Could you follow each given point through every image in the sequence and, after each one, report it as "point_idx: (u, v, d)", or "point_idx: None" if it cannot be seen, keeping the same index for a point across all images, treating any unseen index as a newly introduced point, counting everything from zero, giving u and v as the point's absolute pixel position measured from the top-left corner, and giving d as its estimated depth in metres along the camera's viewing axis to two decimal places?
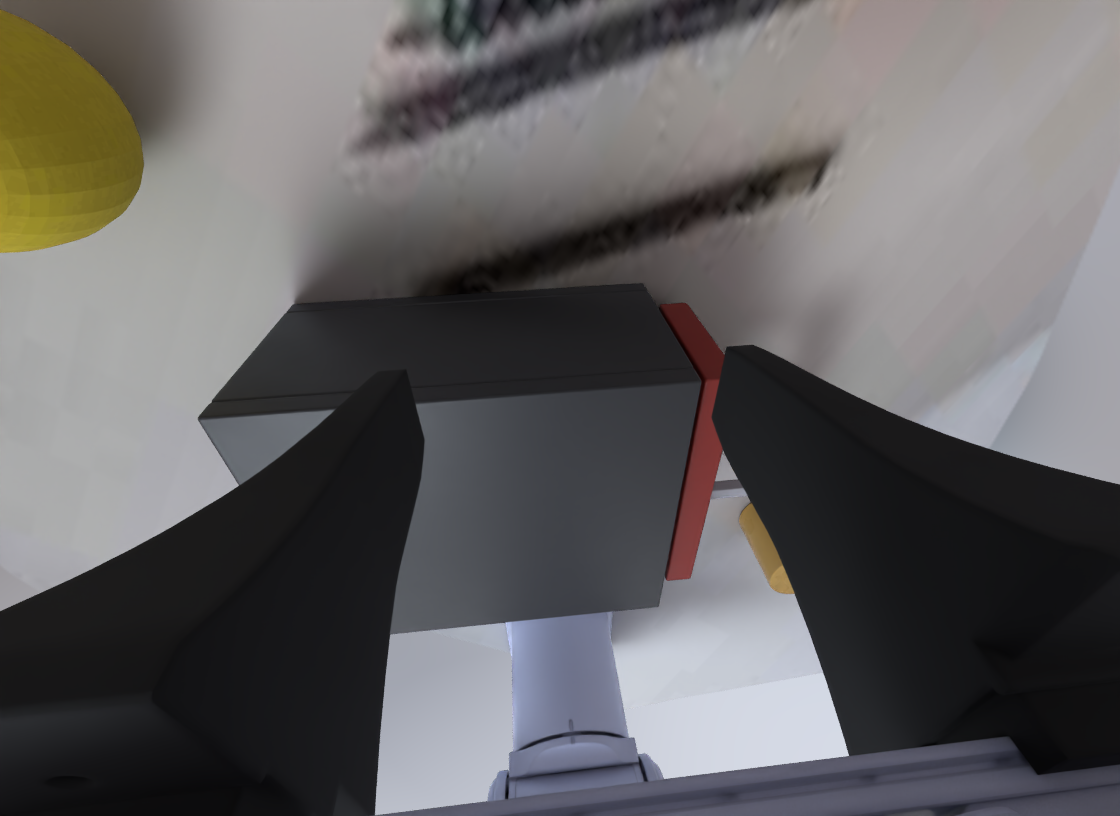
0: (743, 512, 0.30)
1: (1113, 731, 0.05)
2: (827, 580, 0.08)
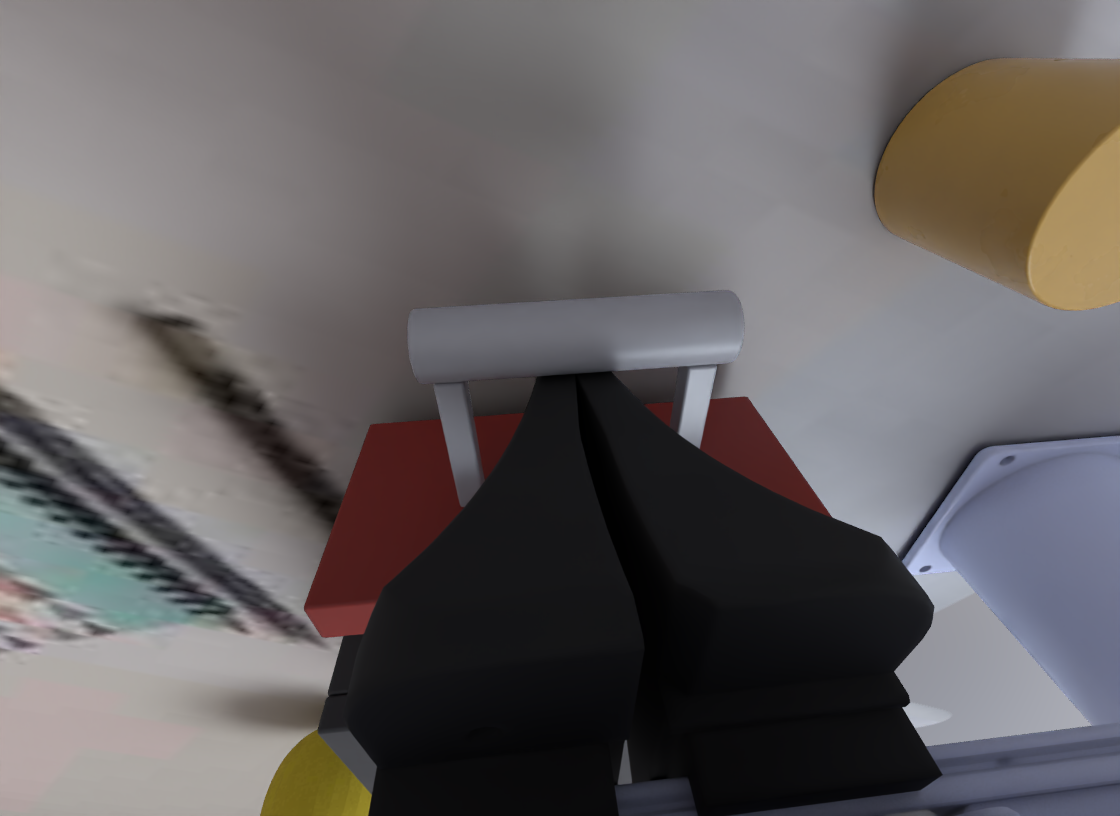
0: (906, 239, 0.13)
1: (769, 774, 0.04)
2: None
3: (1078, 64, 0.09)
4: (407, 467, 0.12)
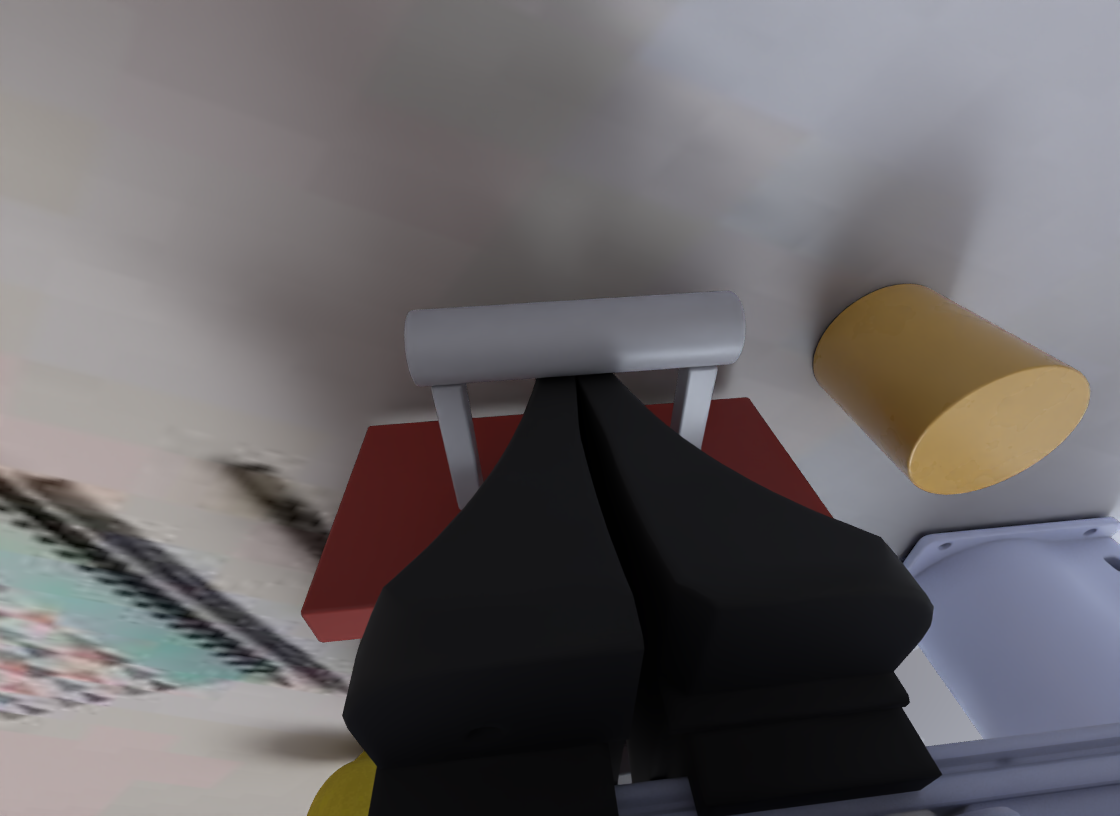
0: None
1: (768, 774, 0.04)
2: None
3: (946, 324, 0.12)
4: (405, 469, 0.12)
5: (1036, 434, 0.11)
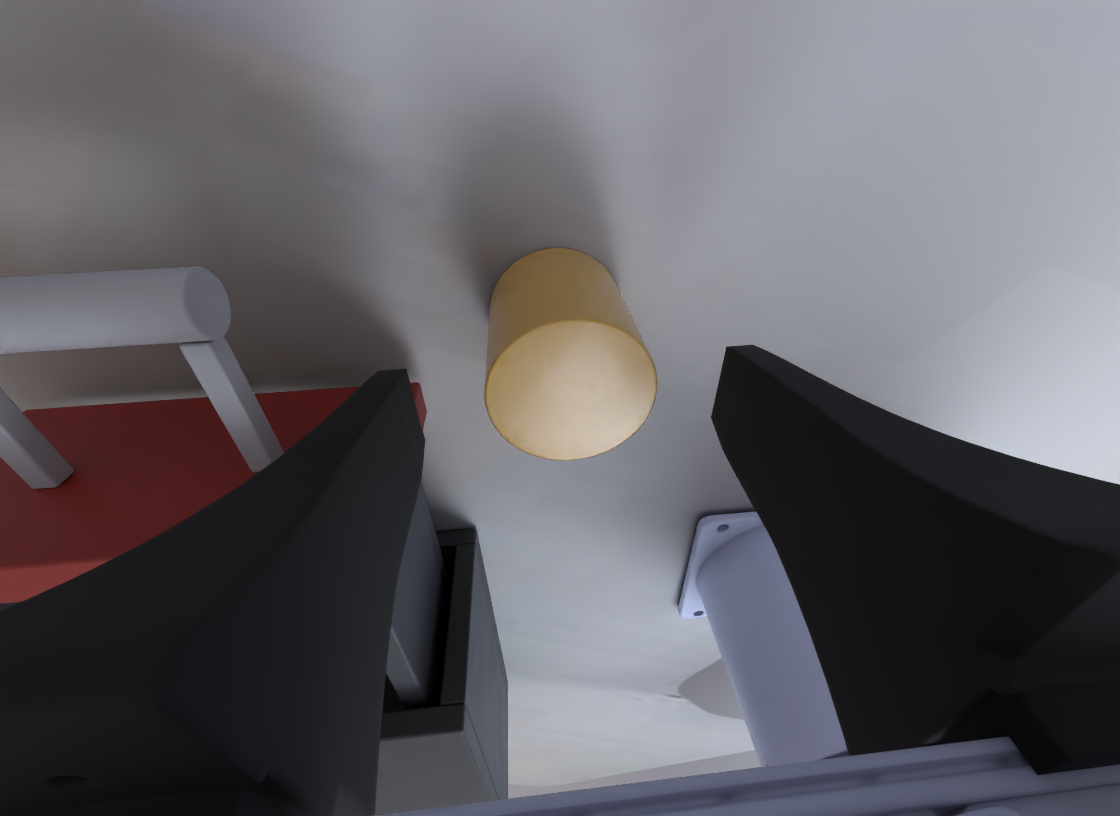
0: None
1: (1113, 730, 0.05)
2: (827, 580, 0.08)
3: (540, 283, 0.11)
4: None
5: (616, 395, 0.11)
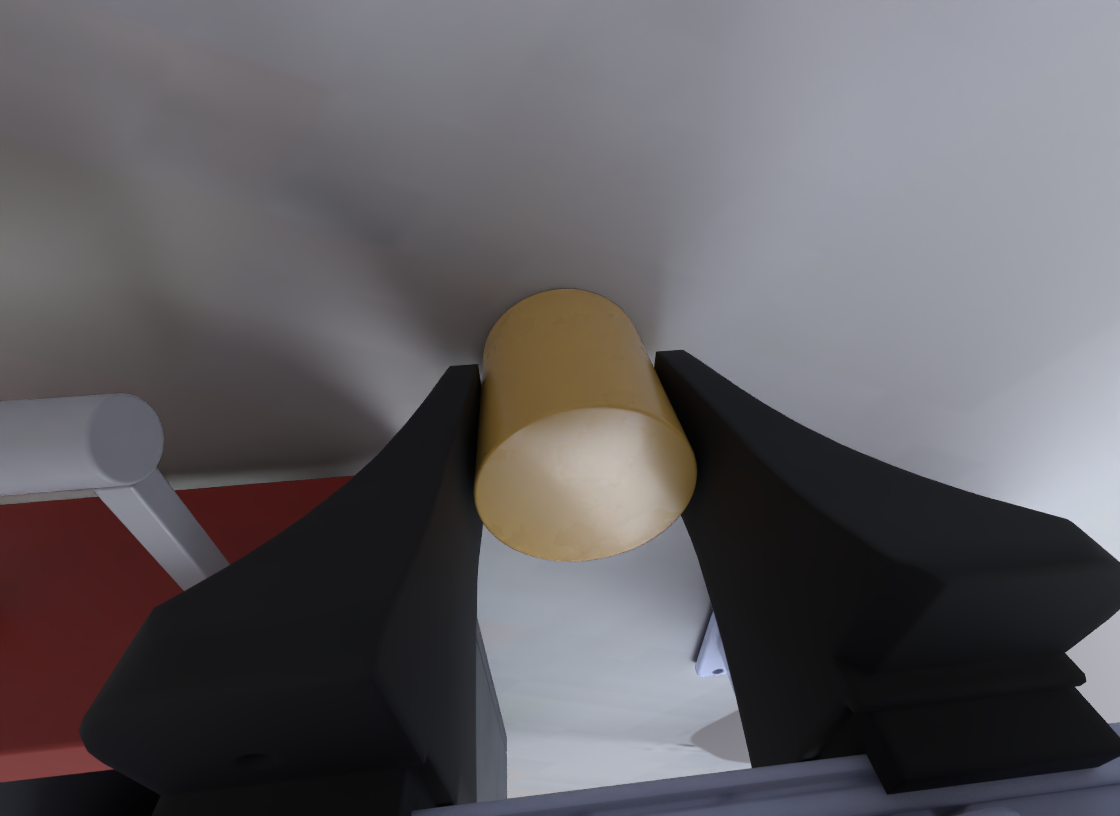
0: None
1: (960, 749, 0.05)
2: (732, 589, 0.08)
3: (545, 342, 0.09)
4: None
5: (644, 490, 0.08)
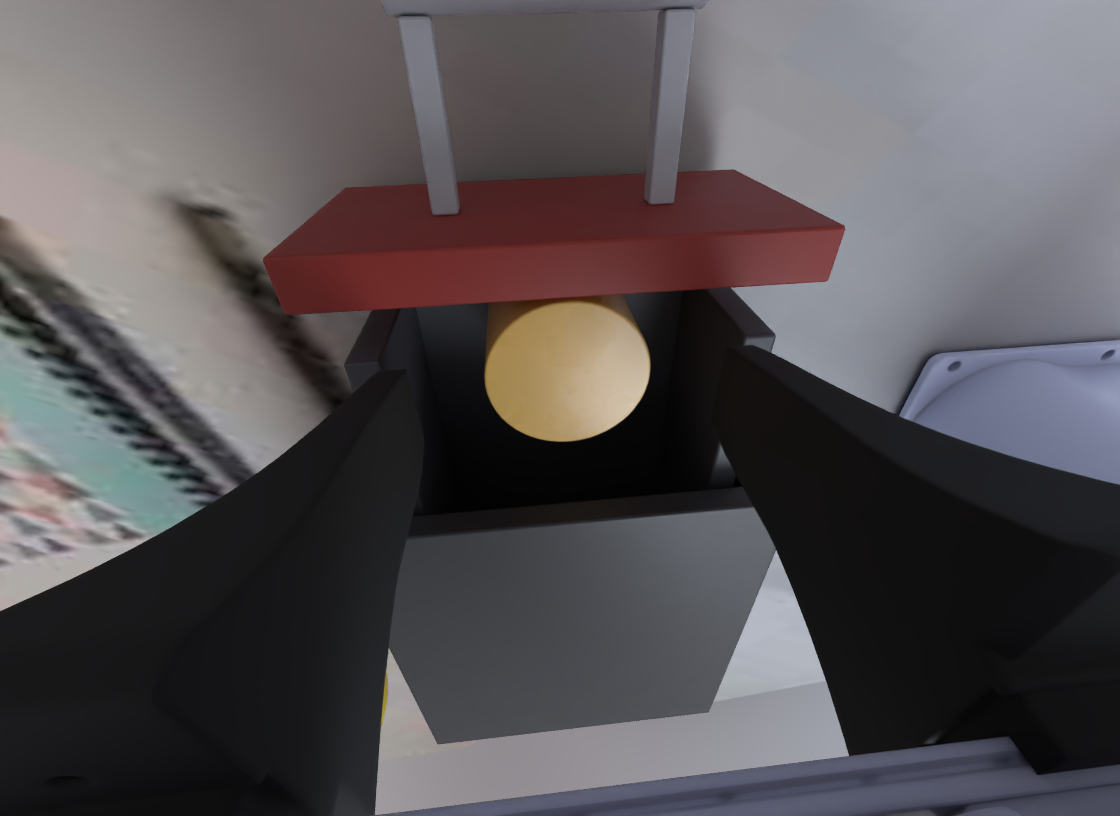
0: None
1: (1113, 731, 0.05)
2: (827, 580, 0.08)
3: None
4: (380, 202, 0.12)
5: (611, 376, 0.11)
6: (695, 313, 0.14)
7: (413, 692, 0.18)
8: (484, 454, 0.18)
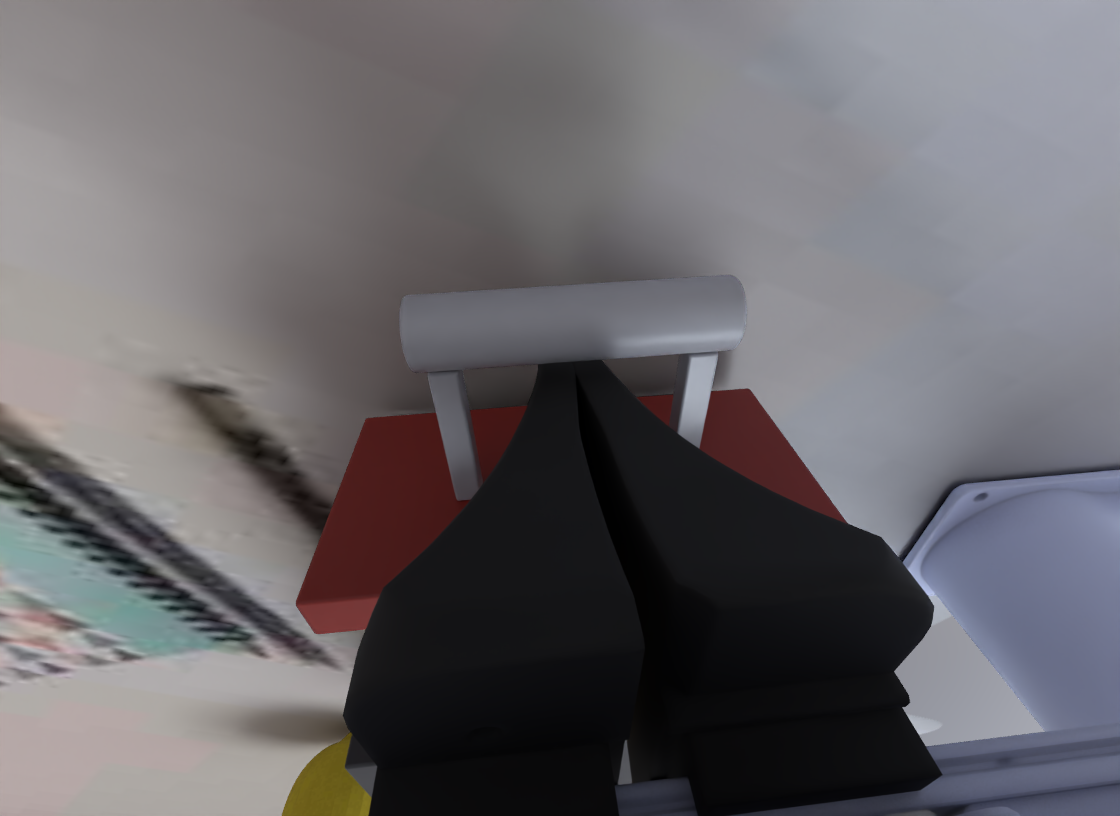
0: None
1: (769, 774, 0.04)
2: None
3: None
4: (403, 461, 0.12)
5: None
6: None
7: None
8: None
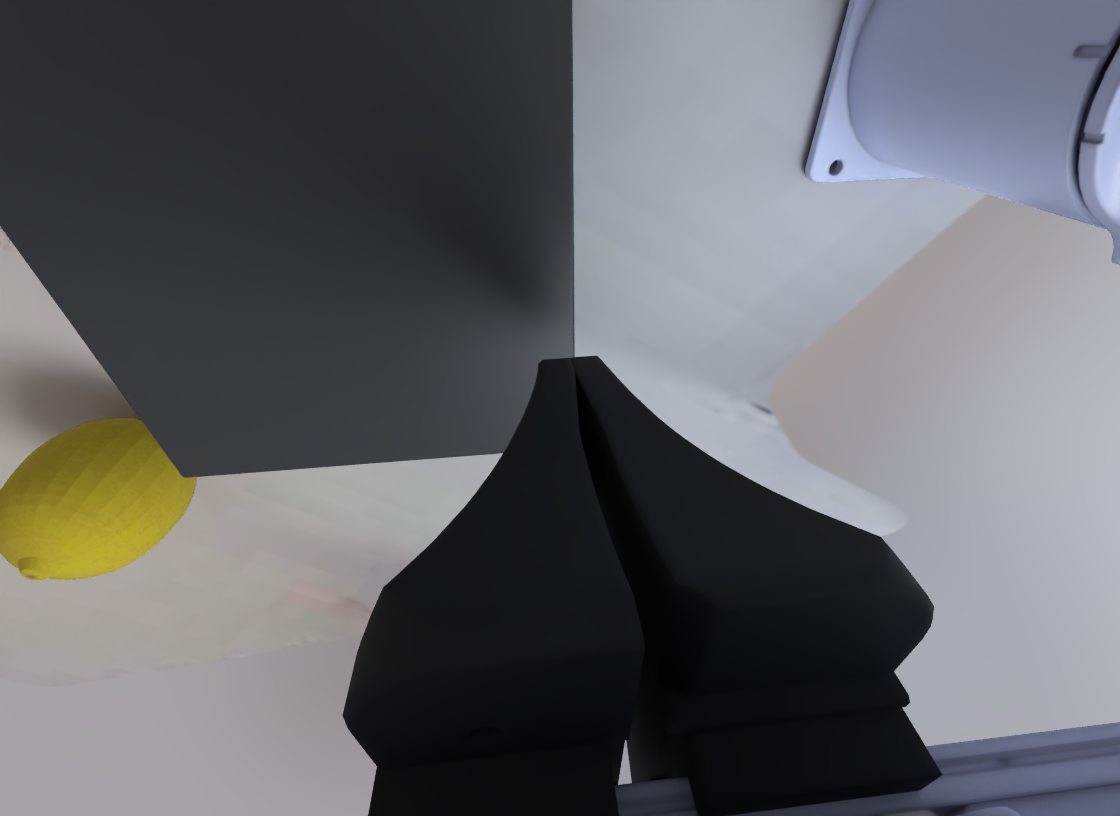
0: None
1: (769, 774, 0.04)
2: None
3: None
4: None
5: None
6: None
7: (72, 322, 0.12)
8: None
